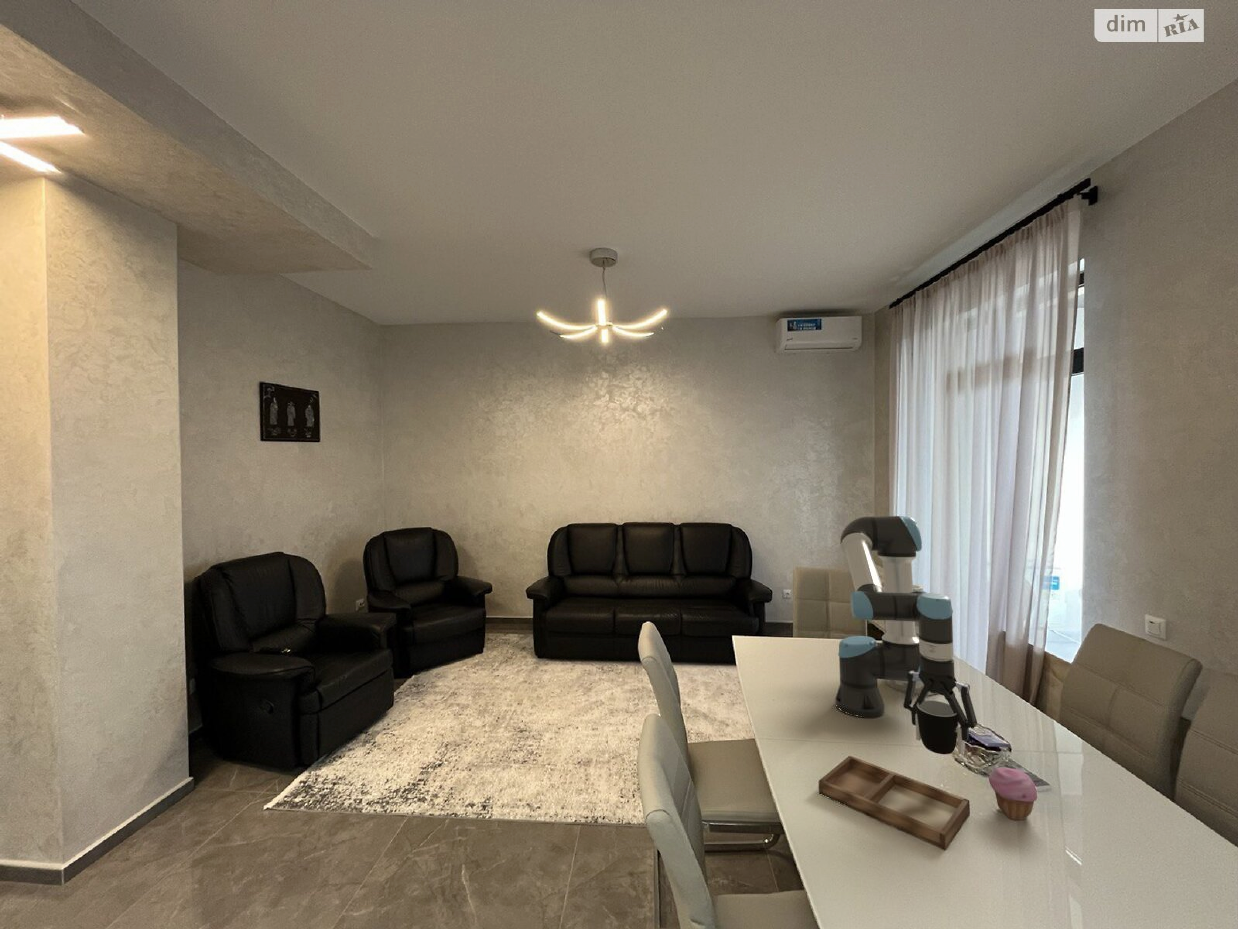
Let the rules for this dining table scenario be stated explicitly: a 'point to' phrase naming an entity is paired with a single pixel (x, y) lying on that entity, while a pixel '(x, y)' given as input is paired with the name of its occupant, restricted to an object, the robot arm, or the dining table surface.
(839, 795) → the organizer box
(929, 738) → the mug
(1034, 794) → the cupcake
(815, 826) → the dining table surface
